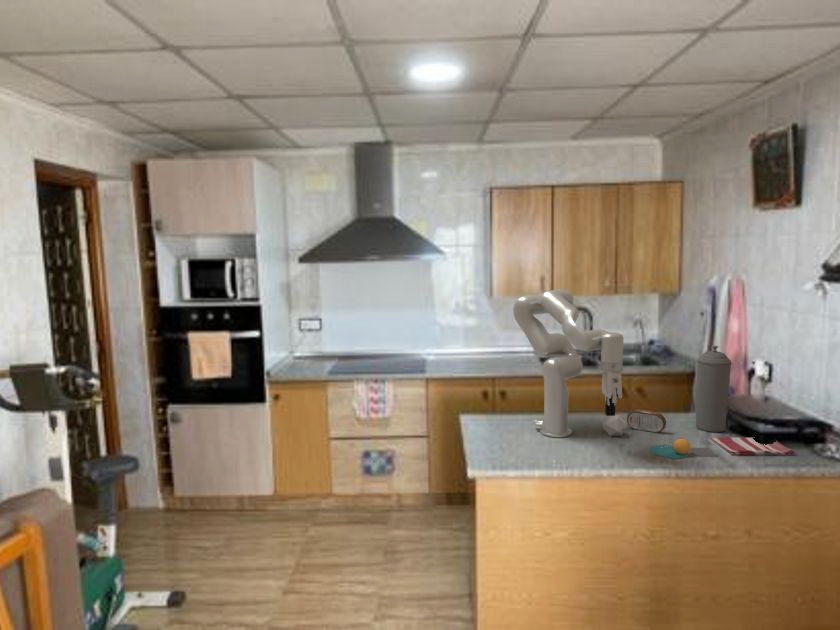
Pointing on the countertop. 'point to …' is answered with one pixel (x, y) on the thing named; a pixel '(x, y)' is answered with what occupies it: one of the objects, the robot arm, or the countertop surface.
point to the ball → (682, 446)
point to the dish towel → (749, 447)
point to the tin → (646, 421)
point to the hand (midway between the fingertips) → (610, 415)
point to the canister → (712, 390)
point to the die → (614, 425)
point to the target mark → (667, 452)
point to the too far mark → (702, 452)
